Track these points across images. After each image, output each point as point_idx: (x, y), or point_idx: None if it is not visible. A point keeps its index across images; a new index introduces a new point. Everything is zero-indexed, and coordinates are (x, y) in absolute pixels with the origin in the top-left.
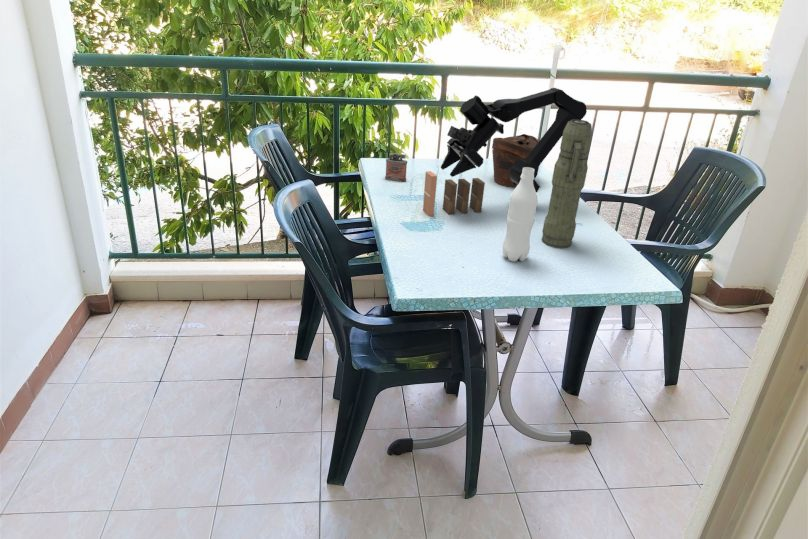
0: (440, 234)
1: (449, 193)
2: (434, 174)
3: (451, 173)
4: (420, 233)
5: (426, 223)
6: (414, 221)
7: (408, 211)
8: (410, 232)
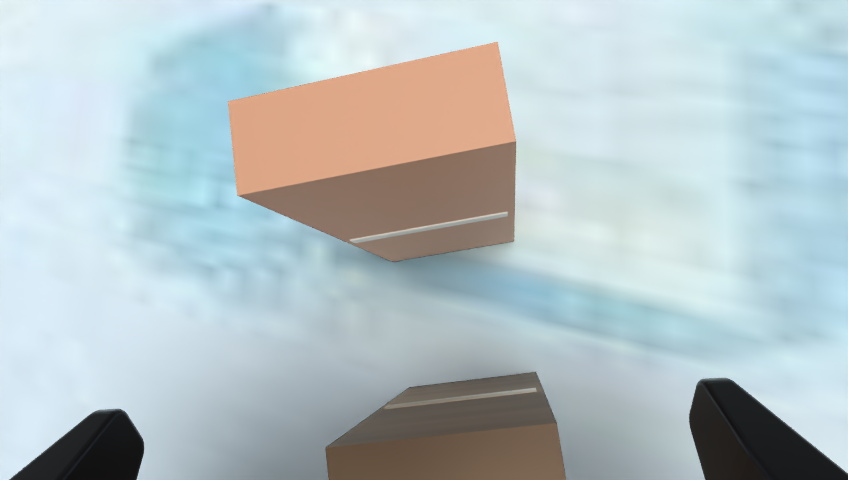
0: (77, 234)
1: (390, 416)
2: (323, 167)
3: (65, 437)
4: (108, 112)
5: None
6: None
7: None
8: (130, 53)
